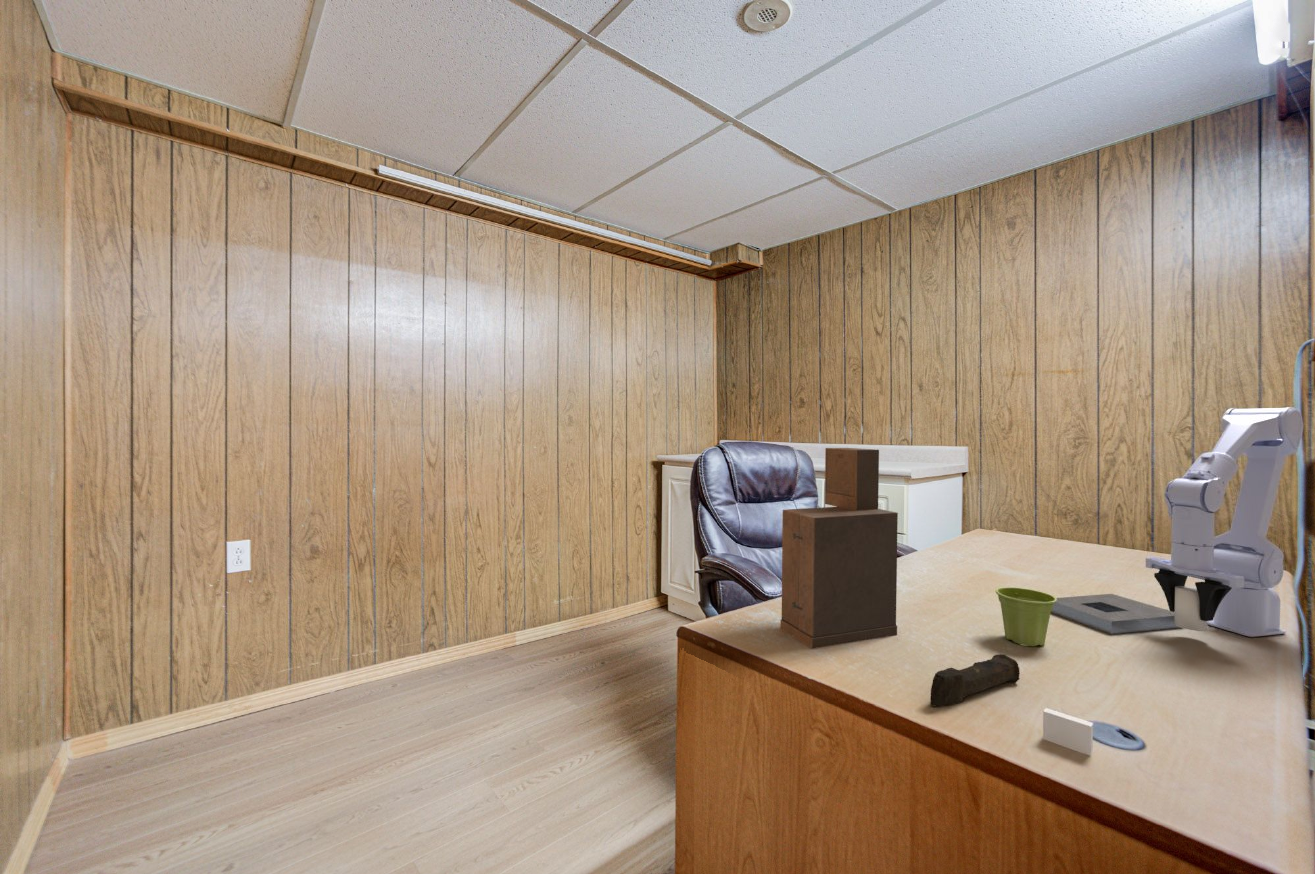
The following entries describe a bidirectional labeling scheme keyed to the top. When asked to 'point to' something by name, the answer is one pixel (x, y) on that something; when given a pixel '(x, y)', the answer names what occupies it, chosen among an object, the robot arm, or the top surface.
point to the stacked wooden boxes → (841, 558)
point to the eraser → (1068, 731)
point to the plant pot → (1025, 614)
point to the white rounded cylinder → (1188, 609)
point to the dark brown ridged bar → (972, 679)
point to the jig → (1114, 613)
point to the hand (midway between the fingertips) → (1190, 615)
